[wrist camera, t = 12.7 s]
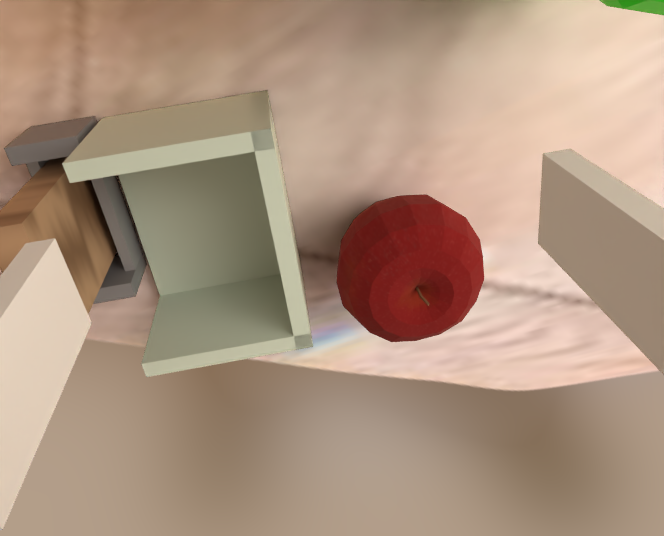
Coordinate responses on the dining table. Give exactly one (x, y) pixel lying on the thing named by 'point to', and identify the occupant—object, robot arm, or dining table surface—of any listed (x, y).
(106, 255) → the door panel
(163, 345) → the cabinet
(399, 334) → the apple
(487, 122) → the dining table surface
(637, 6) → the plastic bottle
